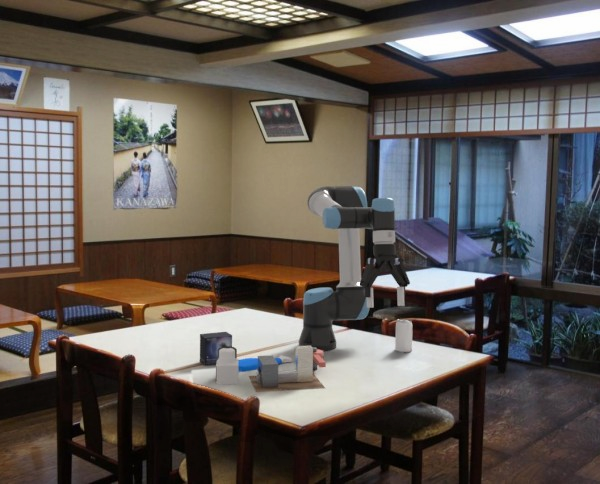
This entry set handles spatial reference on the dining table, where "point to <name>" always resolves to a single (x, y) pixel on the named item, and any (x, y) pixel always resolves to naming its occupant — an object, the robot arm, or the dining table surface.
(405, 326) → the can
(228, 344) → the small box
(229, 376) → the medicine bottle
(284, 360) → the spray bottle
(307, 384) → the walnut board
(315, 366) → the post
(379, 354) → the dining table surface
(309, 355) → the l-shaped bracket
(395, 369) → the dining table surface
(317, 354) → the red t-shaped bar
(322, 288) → the robot arm
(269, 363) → the grey block
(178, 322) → the dining table surface
